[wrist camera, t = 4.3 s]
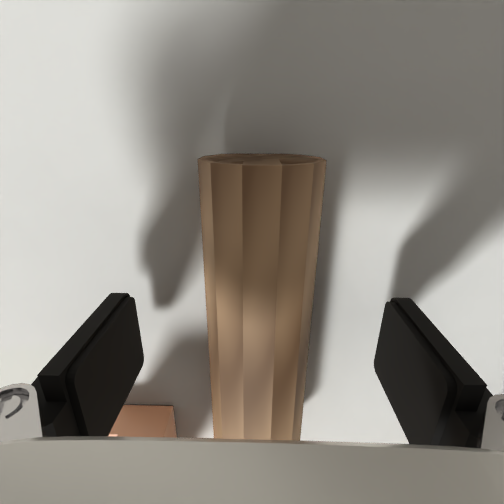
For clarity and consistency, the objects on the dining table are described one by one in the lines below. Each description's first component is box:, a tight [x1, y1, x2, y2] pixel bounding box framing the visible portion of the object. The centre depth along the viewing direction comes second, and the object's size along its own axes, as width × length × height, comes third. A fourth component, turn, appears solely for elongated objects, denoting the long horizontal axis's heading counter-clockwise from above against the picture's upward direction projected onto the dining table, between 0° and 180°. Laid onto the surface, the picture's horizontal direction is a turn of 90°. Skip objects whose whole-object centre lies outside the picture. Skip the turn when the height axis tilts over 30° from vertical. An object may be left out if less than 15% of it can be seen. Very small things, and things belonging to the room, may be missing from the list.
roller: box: [198, 154, 326, 441], centre depth 11 cm, size 12×4×4 cm, turn 0°
